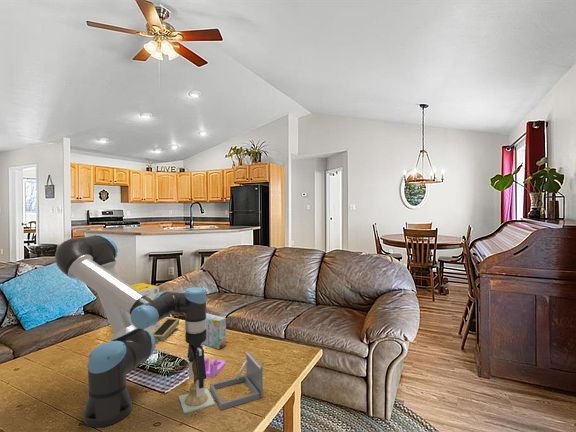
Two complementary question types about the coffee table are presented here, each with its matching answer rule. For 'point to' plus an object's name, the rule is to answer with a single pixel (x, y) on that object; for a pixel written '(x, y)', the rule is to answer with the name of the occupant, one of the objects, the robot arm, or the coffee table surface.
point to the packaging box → (149, 292)
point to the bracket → (213, 367)
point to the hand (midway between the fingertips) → (196, 386)
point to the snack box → (215, 331)
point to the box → (165, 329)
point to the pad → (208, 403)
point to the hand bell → (195, 392)
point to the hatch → (251, 379)
